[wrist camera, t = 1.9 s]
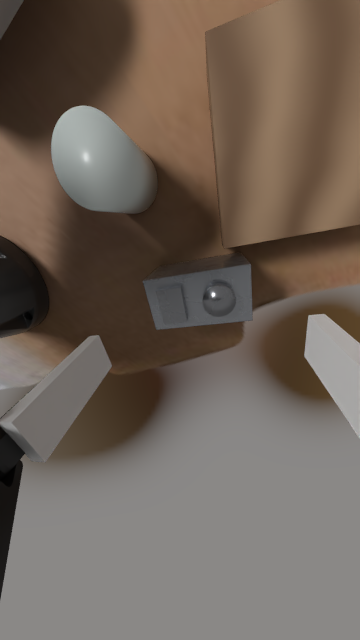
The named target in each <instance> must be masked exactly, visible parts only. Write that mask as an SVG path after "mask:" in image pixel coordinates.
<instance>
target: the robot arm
mask: <svg viewBox="0 0 360 640" xmlns="http://www.w3.org/2000/svg"><path fill="white" fill-rule="evenodd" d="M48 307H49V298H48V292H47V289H46V286H45V283H44V281H43V279H42V277H41V275H40V273H39V271H38V270H37V268H36V267H35V265H34V264H33V263H32V261H31V260H30V259H29V258H28V257H27V256H26V255H25V254H24V253H23V252H22V251H21V250H20V249H19V248H18V247H16V246H15V245H14V244H12V243H11V242H9V241H8V240H6V239H5V238H3V237H1V236H0V338H3V337H7V336H12V335H16V334H20V333H23V332H26V331H28V330H29V329H31V328H33V327H34V326H36V325H38V324H39V323H41V322H42V321H43V319H44V318H45V317H46V314H47V312H48ZM304 356H305V358H306V359H307V361H308V362H309V363H310V365H311V367H312V368H313V369H314V371H315V373H316V374H317V376H318V377H319V379H320V380H321V382H322V383H323V385H324V386H325V388H326V389H327V391H328V392H329V393H330V395H331V396H332V398H333V399H334V401H335V402H336V404H337V405H338V407H339V408H340V410H341V411H342V413H343V414H344V416H345V417H346V419H347V420H348V422H349V423H350V425H351V426H352V428H353V429H354V431H355V432H356V434H357V435H358V437H359V438H360V343H358V342H357V341H356V340H355V339H354V338H352V337H351V336H350V335H349V334H347V332H345V331H344V330H343V329H342V328H341V327H339V326H338V325H337V324H336V323H334V322H333V321H332V320H331V319H330V318H328V317H327V316H326V315H325V314H318V315H309V316H308V326H307V335H306V345H305V353H304ZM111 367H112V365H111V362H110V360H109V358H108V355H107V353H106V351H105V348H104V346H103V344H102V341H101V339H100V337H99V335H95V336H89V337H88V338H87V339H86V340H85V341H84V342H82V343H81V344H80V345H79V346H78V347H77V348H76V349H75V350H74V351H73V352H72V353H71V354H70V355H68V356H67V357H66V358H65V359H64V360H63V361H62V362H61V363H60V364H59V365H58V366H57V367H56V368H54V369H53V370H52V371H51V372H50V373H49V374H48V375H47V376H46V377H45V378H44V379H43V380H42V381H40V382H39V383H38V384H37V385H36V386H35V387H33V389H31V390H30V391H29V392H28V393H27V394H26V395H25V396H24V397H23V398H22V399H21V400H20V401H19V402H17V403H16V404H15V405H14V406H13V407H12V408H11V409H10V410H9V411H8V412H7V413H5V414H4V415H3V416H2V417H1V418H0V598H1V592H2V586H3V580H4V574H5V569H6V563H7V557H8V551H9V544H10V539H11V533H12V527H13V521H14V515H15V509H16V503H17V498H18V492H19V486H20V480H21V473H22V468H23V464H22V461H20V459H21V458H22V456H23V455H24V454H26V455H27V457H28V458H29V459H30V460H31V461H36V462H46V460H47V459H48V457H49V456H50V454H51V453H52V452H53V450H54V449H55V447H56V446H57V444H58V443H59V442H60V440H61V439H62V437H63V436H64V434H65V433H66V432H67V430H68V429H69V427H70V426H71V424H72V423H73V422H74V420H75V419H76V417H77V416H78V414H79V413H80V411H81V410H82V409H83V407H84V406H85V404H86V403H87V401H88V400H89V399H90V397H91V396H92V394H93V393H94V391H95V390H96V388H97V387H98V386H99V384H100V383H101V381H102V380H103V378H104V377H105V375H106V374H107V373H108V371H109V370H110V368H111Z"/></svg>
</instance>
